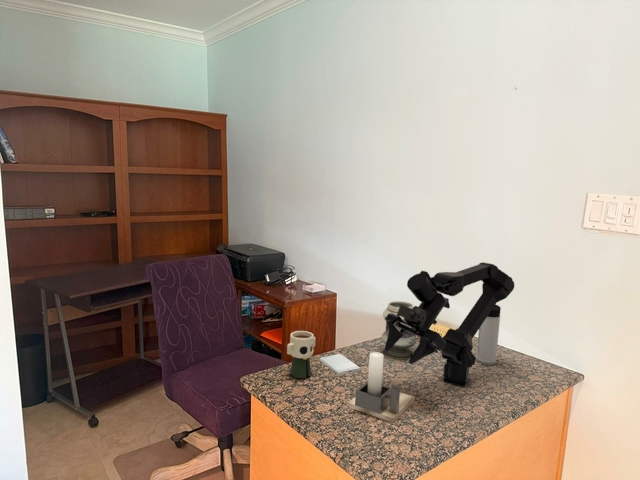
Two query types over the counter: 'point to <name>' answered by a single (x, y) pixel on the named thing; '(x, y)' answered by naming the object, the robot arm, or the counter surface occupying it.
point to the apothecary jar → (407, 339)
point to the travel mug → (489, 338)
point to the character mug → (301, 352)
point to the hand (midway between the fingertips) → (397, 356)
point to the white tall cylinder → (375, 374)
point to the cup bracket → (378, 399)
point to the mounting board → (386, 415)
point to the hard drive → (340, 364)
